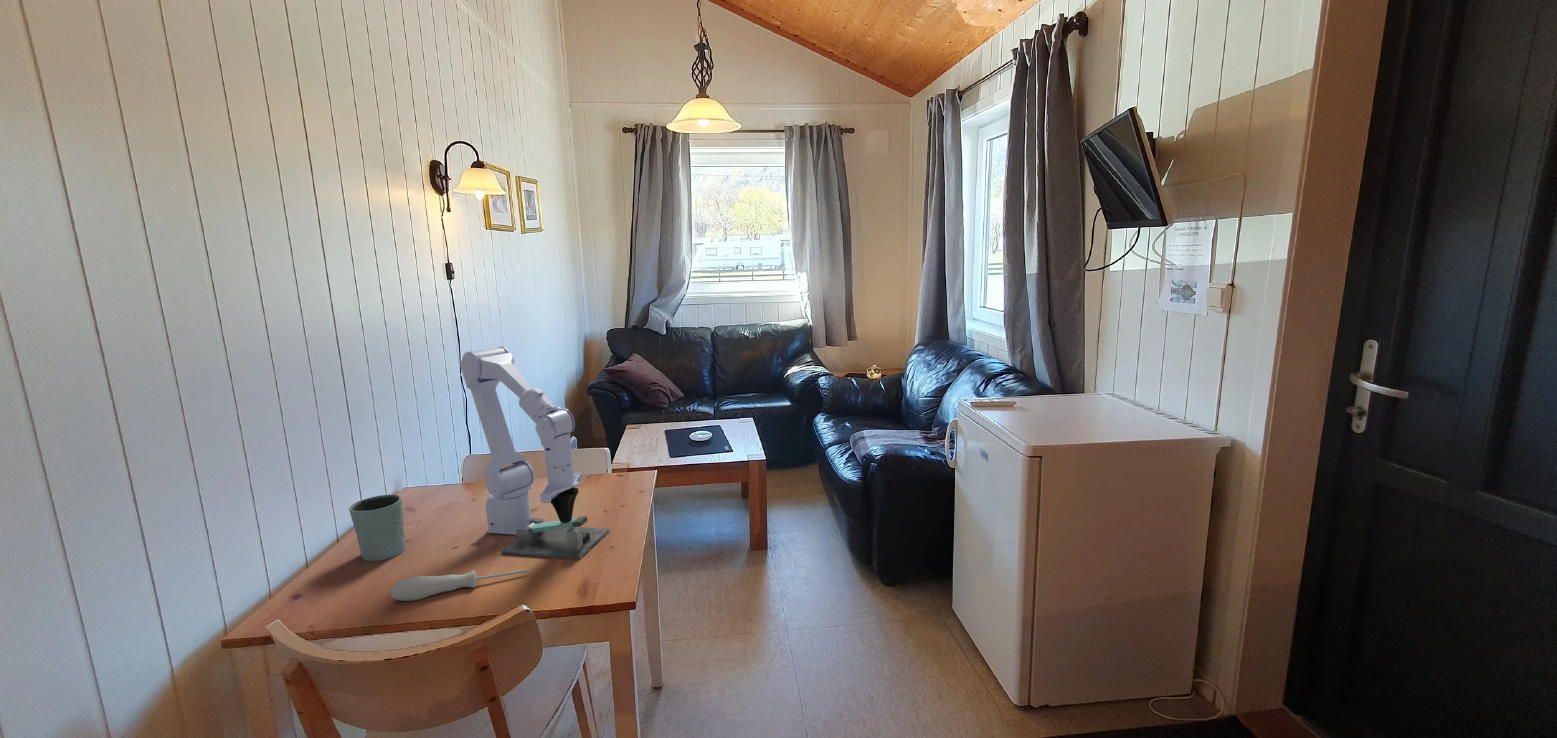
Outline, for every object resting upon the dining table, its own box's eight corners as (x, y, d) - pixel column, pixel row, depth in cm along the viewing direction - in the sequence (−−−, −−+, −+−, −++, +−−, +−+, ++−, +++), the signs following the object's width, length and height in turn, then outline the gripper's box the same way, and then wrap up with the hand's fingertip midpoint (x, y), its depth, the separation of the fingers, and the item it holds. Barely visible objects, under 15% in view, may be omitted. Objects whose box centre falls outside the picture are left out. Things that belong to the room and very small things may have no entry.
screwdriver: (531, 585, 132) (530, 569, 130) (391, 609, 122) (388, 591, 121) (530, 571, 136) (529, 554, 134) (394, 592, 127) (391, 575, 125)
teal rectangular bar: (524, 535, 147) (522, 528, 147) (532, 529, 150) (530, 523, 150) (581, 527, 143) (579, 520, 143) (588, 521, 146) (586, 515, 146)
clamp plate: (501, 553, 143) (498, 530, 142) (537, 527, 156) (534, 505, 155) (579, 559, 139) (577, 535, 138) (609, 531, 152) (607, 509, 151)
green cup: (381, 565, 139) (372, 513, 137) (345, 560, 142) (337, 509, 140) (419, 544, 149) (412, 495, 146) (385, 540, 152) (378, 492, 149)
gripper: (558, 475, 135) (565, 535, 138) (591, 454, 149) (597, 509, 152) (528, 474, 137) (535, 534, 139) (564, 453, 151) (570, 508, 153)
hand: (565, 521), depth 146 cm, fingers closed, pressing on teal rectangular bar
